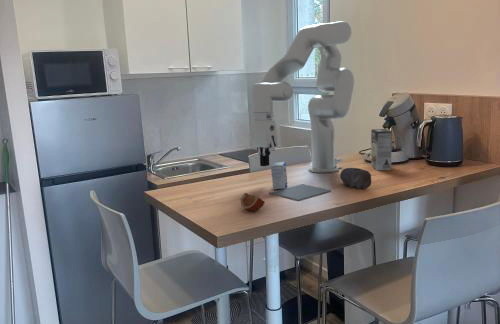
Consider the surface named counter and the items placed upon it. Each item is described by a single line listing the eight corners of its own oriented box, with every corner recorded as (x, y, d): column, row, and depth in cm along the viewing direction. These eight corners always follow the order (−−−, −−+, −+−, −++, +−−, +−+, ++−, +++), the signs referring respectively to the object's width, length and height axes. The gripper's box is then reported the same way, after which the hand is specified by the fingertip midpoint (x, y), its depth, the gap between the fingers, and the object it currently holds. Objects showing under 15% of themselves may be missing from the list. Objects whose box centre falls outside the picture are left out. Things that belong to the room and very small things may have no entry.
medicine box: (285, 189, 154) (283, 165, 152) (272, 189, 155) (270, 165, 153) (287, 184, 161) (286, 161, 160) (275, 185, 162) (274, 162, 161)
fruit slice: (236, 209, 134) (236, 193, 134) (255, 205, 138) (254, 189, 137) (250, 215, 127) (250, 199, 126) (269, 211, 131) (269, 195, 130)
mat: (302, 184, 160) (302, 183, 160) (331, 191, 149) (331, 190, 149) (270, 193, 150) (270, 192, 150) (298, 201, 140) (298, 199, 139)
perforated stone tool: (335, 183, 160) (335, 165, 159) (347, 181, 162) (347, 163, 161) (360, 192, 146) (360, 172, 145) (373, 190, 148) (373, 170, 147)
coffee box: (370, 166, 186) (370, 129, 183) (385, 165, 186) (385, 128, 183) (376, 170, 177) (376, 131, 174) (392, 169, 177) (392, 130, 174)
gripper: (284, 116, 156) (285, 166, 159) (257, 115, 167) (259, 161, 171) (268, 118, 151) (270, 169, 155) (242, 117, 163) (244, 164, 166)
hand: (264, 165), depth 163 cm, fingers closed
